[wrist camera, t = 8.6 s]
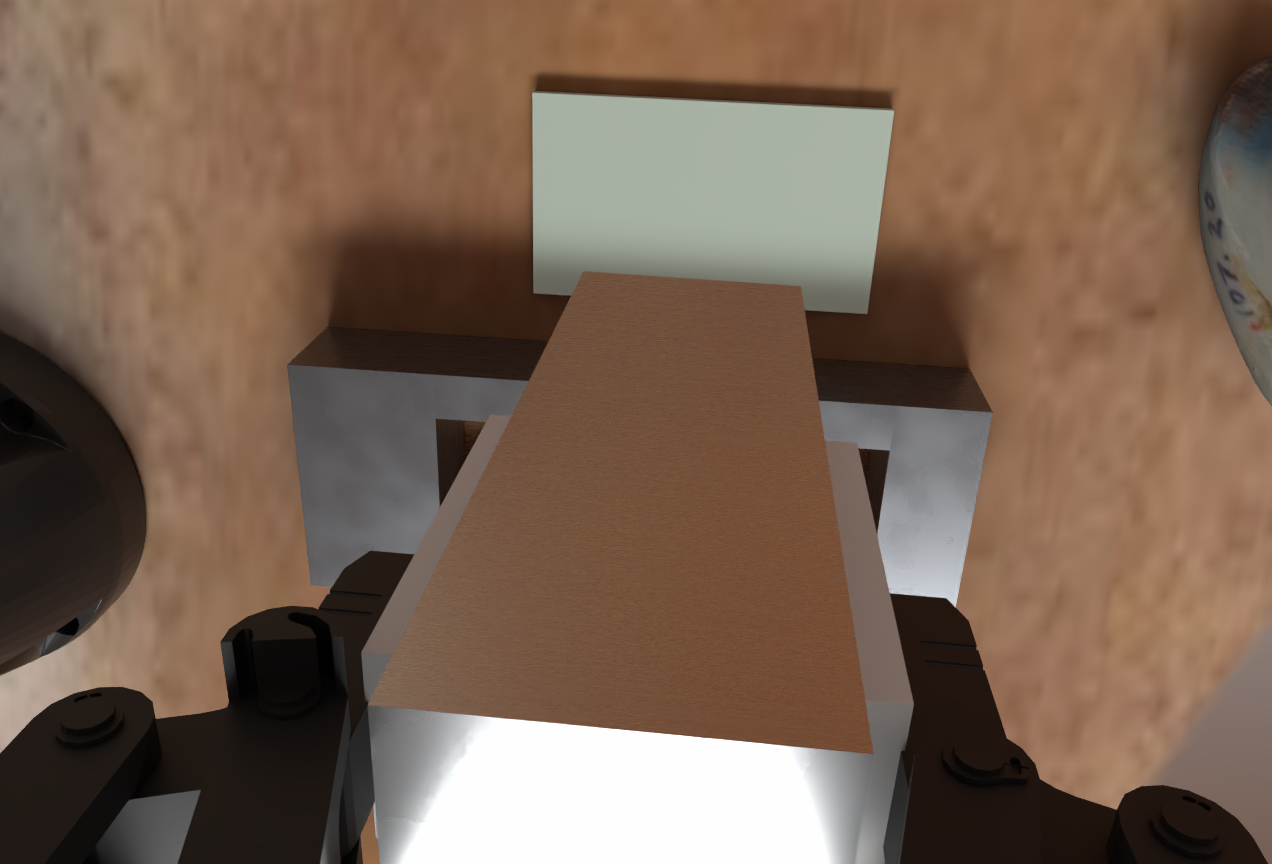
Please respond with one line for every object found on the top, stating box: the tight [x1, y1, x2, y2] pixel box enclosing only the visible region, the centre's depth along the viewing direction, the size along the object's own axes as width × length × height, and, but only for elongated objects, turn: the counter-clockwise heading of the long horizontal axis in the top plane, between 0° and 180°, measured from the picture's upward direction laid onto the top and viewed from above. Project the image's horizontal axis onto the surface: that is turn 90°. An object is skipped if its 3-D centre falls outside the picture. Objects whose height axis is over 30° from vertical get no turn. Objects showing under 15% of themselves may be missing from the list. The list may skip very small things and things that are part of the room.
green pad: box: [532, 91, 894, 314], centre depth 37 cm, size 12×7×1 cm, turn 88°
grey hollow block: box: [287, 327, 993, 607], centre depth 40 cm, size 24×9×4 cm, turn 88°
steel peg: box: [368, 271, 874, 864], centre depth 17 cm, size 4×4×14 cm
